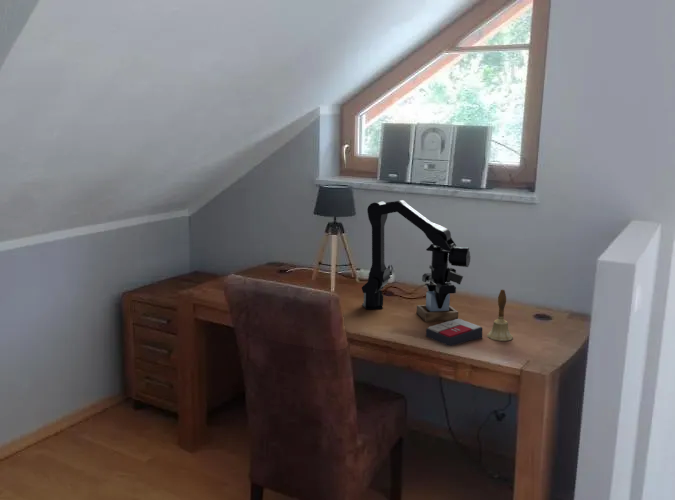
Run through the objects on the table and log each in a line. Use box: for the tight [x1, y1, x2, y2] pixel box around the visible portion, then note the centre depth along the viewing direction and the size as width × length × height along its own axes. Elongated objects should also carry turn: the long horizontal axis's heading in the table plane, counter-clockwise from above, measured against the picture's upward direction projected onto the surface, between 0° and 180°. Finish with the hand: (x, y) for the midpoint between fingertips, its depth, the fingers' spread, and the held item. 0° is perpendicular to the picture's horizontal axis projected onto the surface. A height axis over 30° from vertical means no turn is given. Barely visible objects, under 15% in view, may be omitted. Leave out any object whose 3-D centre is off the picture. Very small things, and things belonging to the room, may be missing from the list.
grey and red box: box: [425, 318, 483, 347], centre depth 217 cm, size 11×4×15 cm
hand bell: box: [486, 289, 514, 342], centre depth 216 cm, size 8×8×16 cm
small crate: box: [425, 290, 451, 312], centre depth 237 cm, size 7×5×6 cm
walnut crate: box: [416, 304, 459, 323], centre depth 238 cm, size 12×10×3 cm
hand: (437, 306), depth 237 cm, fingers closed on small crate, 5 cm apart
